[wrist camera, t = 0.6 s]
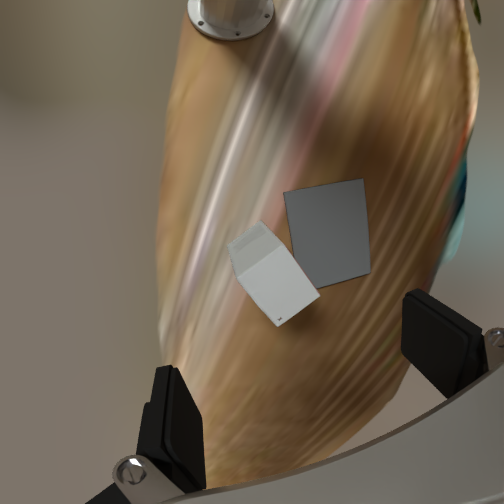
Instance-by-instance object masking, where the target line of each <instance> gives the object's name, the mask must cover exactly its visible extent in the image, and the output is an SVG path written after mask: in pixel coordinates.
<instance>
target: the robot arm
mask: <svg viewBox="0 0 504 504" xmlns="http://www.w3.org/2000/svg"><path fill="white" fill-rule="evenodd" d="M187 12H188V17H189V19H190V21H191V23H192V24H193V25H194V27H195V28H196V29H198V30H199V31H200V32H201V33H203V34H205V35H207V36H209V37H212V38H215V39H220V40H230V41H233V40H242V39H246V38H249V37H252V36H254V35H256V34H258V33H259V32H261V31H262V30H263V29H264V28H266V27H267V25H268V24H269V22H270V21H271V19H272V16H273V12H274V5H273V1H272V0H188V4H187ZM265 17H266V18H265ZM199 25H202V26H199ZM236 35H239V36H236ZM481 333H482V328H480V327H478V326H477V325H475V324H474V323H472V322H471V321H469V320H468V319H466V318H465V317H463V316H462V315H460V314H459V313H457V312H456V311H454V310H452V309H451V308H449V307H448V306H446V305H444V304H443V303H441V302H440V301H438V300H437V299H435V298H433V297H432V296H430V295H429V294H427V293H425V292H424V291H422V290H420V289H418V288H417V289H414V290H412V291H410V292H407V293H406V294H405V297H404V298H403V308H402V337H401V351H402V354H403V355H404V356H405V357H406V358H407V359H408V360H409V361H410V362H411V363H412V364H413V365H414V366H415V367H416V368H417V369H418V370H419V371H420V372H421V373H422V374H423V375H424V376H425V377H426V378H427V379H428V380H429V381H430V382H431V383H432V384H433V385H434V386H435V387H436V388H437V389H438V390H439V391H440V392H441V393H442V394H443V395H444V396H445V397H446V398H447V400H446V401H444V402H443V403H441V404H439V405H438V406H436V407H434V408H433V409H431V410H429V411H428V412H426V413H424V414H422V415H421V416H419V417H417V418H415V419H414V420H412V421H410V422H408V423H406V424H404V425H402V426H401V427H399V428H397V429H395V430H393V431H391V432H389V433H387V434H385V435H383V436H380V437H378V438H376V439H374V440H372V441H370V442H367V443H365V444H363V445H360V446H358V447H356V448H353V449H351V450H348V451H346V452H343V453H341V454H338V455H336V456H333V457H330V458H327V459H325V460H322V461H319V462H316V463H313V464H310V465H307V466H304V467H301V468H297V469H294V470H291V471H287V472H283V473H280V474H276V475H272V476H268V477H264V478H260V479H256V480H252V481H247V482H243V483H238V484H233V485H228V486H222V487H217V488H212V489H207V490H202V489H206V474H205V459H204V442H203V422H202V417H201V414H200V412H199V410H198V408H197V406H196V404H195V402H194V400H193V398H192V396H191V394H190V392H189V390H188V388H187V386H186V384H185V382H184V380H183V378H182V376H181V373H180V371H179V369H178V368H177V367H176V368H173V366H172V365H167V366H162V367H157V368H156V373H155V378H154V384H153V389H152V395H151V400H150V402H147V403H145V405H144V409H143V414H142V421H141V426H140V432H139V437H138V444H137V451H136V455H130V456H126V457H125V458H123V459H121V460H120V461H119V462H117V464H116V465H115V467H114V469H113V472H112V475H113V479H114V483H113V484H111V485H110V486H109V487H107V488H106V489H105V490H103V491H102V492H101V493H99V494H98V495H96V496H95V497H94V498H93V499H91V500H89V501H88V502H87V503H85V504H504V328H492V329H490V330H488V331H487V332H486V334H485V335H484V336H483V335H482V334H481Z"/></svg>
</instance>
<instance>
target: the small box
mask: <svg viewBox="0 0 504 504" xmlns="http://www.w3.org/2000/svg"><path fill="white" fill-rule="evenodd" d="M227 248H228V251H229V254H230V258H231V262H232V265H233V269H234V273H235V276H236V279H237V281H238V282H239V283H240V285H241V286H242V287H243V288H244V289H245V291H246V292H247V293H248V294H249V295H250V297H251V298H252V299H253V300H254V302H255V303H256V304H257V305H258V307H259V308H260V309H261V310H262V311H263V312H264V313H265V314H266V315H267V316H268V317H269V318H270V320H271V321H272V322H273V323H274V324H275V325H276V326H277V327H279V326H280V325H281V324H283V323H284V322H286V321H287V320H288V319H290V318H291V317H293V316H294V315H295V314H297V313H298V312H299V311H301V310H302V309H303V308H305V307H306V306H307V305H309V304H310V303H311V302H313V301H314V300H315V299H317V298H318V297H319V296H320V293H319V292H318V290H317V289H316V287H315V286H314V285H313V283H312V282H311V280H310V279H309V277H308V276H307V275H306V273H305V272H304V270H303V269H302V268H301V266H300V265H299V263H298V262H297V261H296V259H295V258H294V257H293V255H292V254H291V252H290V251H289V250H288V248H287V247H286V246H285V244H284V243H282V242H281V241H280V240H279V239H278V237H277V236H276V235H275V234H274V233H273V232H272V231H271V230H270V229H269V228H268V227H267V226H266V225H265V224H264V223H263V222H262V221H261V220H260V221H259V222H258V223H256V224H255V225H254V226H252V227H251V228H250V229H248V230H247V231H246V232H244V233H243V234H242V235H240V236H239V237H238V238H236V239H235V240H234V241H232V242H231V243H230V244H228V245H227Z"/></svg>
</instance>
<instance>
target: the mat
mask: <svg viewBox="0 0 504 504" xmlns="http://www.w3.org/2000/svg"><path fill="white" fill-rule="evenodd" d="M283 195H284V200H285V206H286V212H287V218H288V224H289V230H290V236H291V243H292V249H293V256H294V258H295V259H296V261H297V262H298V263H299V265H300V266H301V268H302V269H303V270H304V272H305V273H306V275H307V276H308V277H309V279H310V280H311V282H312V283H313V285H314V286H315V287H316V288H320V287H324V286H327V285H331V284H334V283H338V282H341V281H345V280H348V279H351V278H355V277H358V276H362V275H365V274H368V273H371V272H370V249H369V233H368V219H367V208H366V198H365V189H364V180H363V179H362V178H361V179H355V180H349V181H343V182H337V183H332V184H326V185H320V186H315V187H310V188H304V189H299V190H294V191H289V192H284V193H283Z"/></svg>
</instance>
